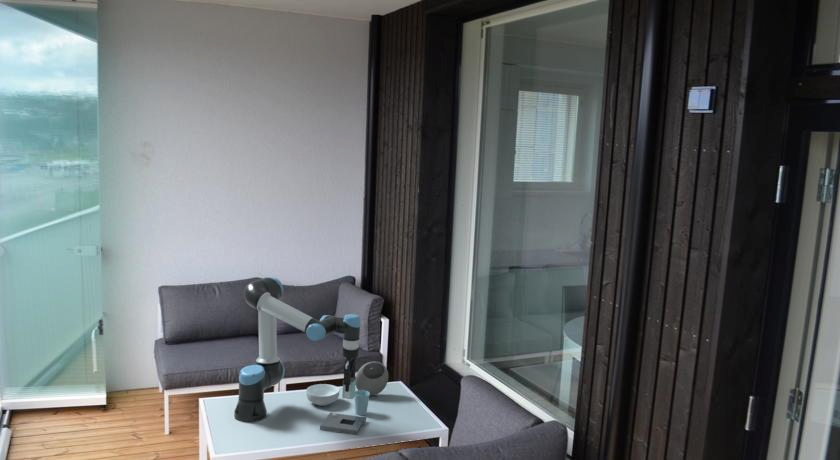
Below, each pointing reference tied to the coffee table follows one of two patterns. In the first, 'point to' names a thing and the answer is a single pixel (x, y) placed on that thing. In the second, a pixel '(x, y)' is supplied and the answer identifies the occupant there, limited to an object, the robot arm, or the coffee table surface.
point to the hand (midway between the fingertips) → (348, 395)
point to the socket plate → (343, 423)
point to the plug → (353, 384)
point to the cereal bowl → (322, 394)
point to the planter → (372, 378)
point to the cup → (361, 402)
